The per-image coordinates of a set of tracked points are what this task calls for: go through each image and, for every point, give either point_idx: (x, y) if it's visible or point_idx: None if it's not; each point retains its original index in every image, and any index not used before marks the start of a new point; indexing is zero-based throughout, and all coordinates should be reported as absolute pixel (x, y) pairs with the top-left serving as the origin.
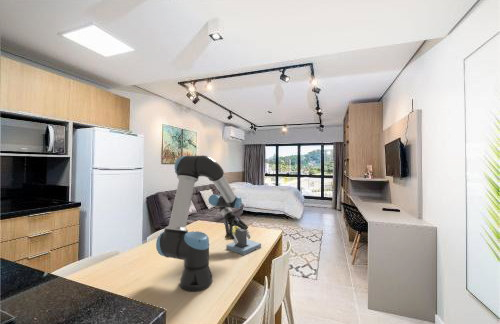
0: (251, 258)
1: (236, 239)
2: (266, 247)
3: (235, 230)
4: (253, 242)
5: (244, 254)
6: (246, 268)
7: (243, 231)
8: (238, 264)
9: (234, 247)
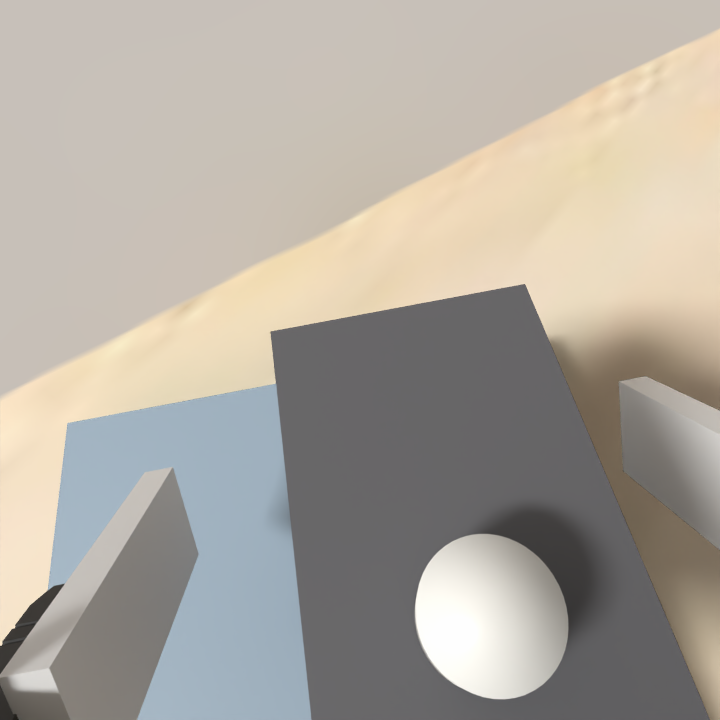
0: (477, 246)
1: (681, 400)
2: (62, 389)
3: (691, 717)
4: None
5: None
6: (645, 127)
7: (454, 302)
8: (694, 212)
9: None
